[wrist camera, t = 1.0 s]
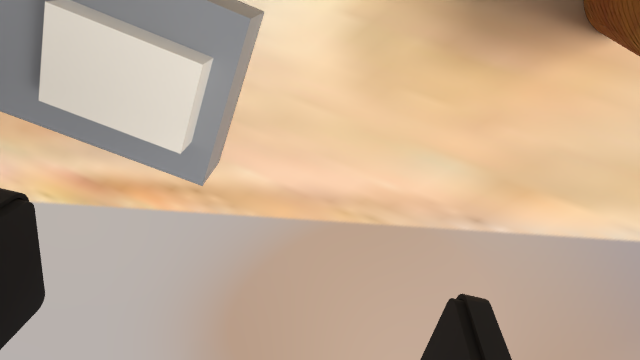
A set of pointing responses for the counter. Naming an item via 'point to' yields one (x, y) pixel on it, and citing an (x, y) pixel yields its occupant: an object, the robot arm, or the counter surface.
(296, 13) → the counter surface
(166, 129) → the tile
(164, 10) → the grey block
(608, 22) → the disposable coffee cup
